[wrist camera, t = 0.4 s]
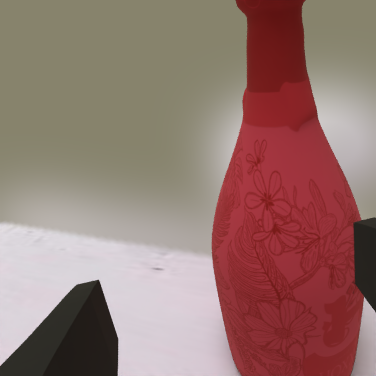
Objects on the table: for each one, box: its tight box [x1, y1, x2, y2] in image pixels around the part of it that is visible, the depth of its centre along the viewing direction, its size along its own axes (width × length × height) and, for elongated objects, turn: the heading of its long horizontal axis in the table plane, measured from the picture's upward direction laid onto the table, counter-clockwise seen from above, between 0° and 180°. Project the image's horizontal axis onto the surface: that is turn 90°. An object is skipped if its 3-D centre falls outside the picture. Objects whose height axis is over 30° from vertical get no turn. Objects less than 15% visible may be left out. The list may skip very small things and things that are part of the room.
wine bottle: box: [212, 0, 364, 376], centre depth 20 cm, size 10×10×30 cm
